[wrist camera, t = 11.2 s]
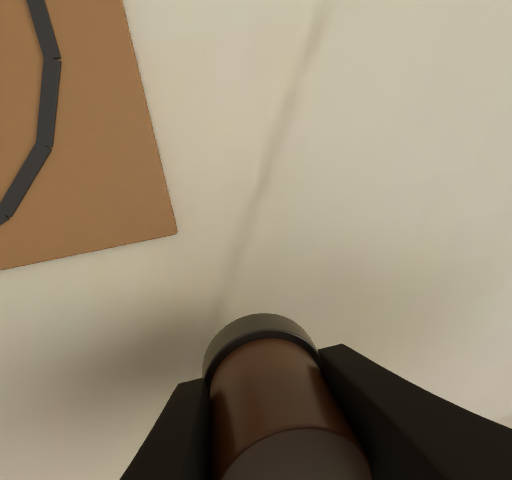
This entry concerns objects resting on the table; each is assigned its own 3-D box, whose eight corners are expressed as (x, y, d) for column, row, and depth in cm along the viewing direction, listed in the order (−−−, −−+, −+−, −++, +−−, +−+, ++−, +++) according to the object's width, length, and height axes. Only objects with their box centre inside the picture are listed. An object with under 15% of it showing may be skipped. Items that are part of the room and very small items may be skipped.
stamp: (334, 379, 10) (412, 511, 6) (239, 436, 10) (259, 604, 6) (282, 290, 9) (336, 379, 6) (179, 352, 9) (159, 484, 5)
